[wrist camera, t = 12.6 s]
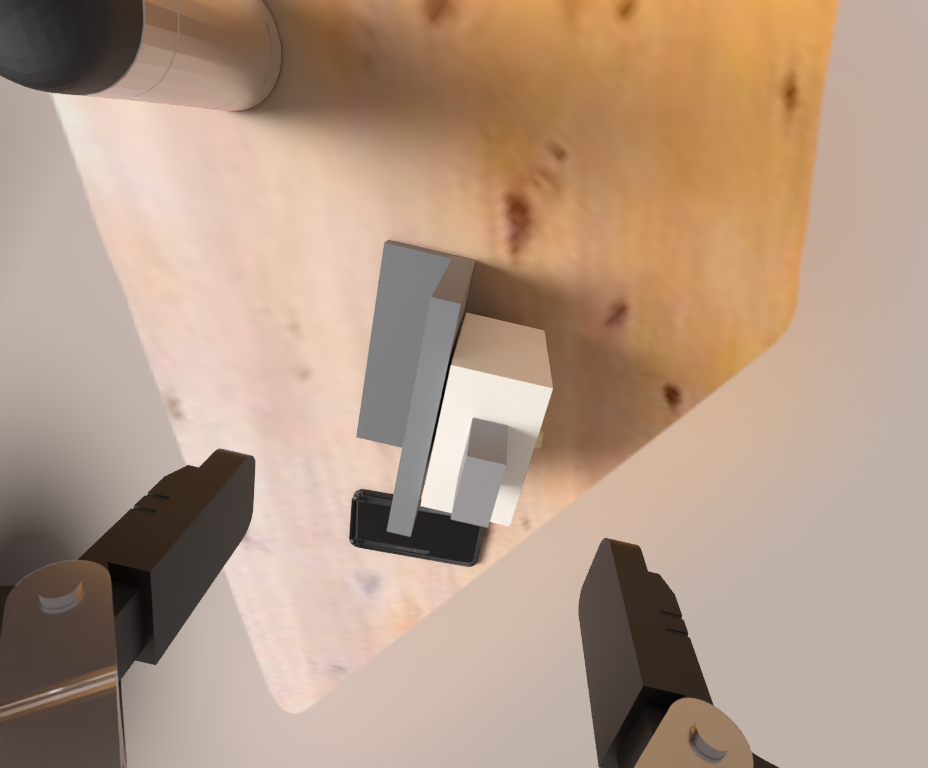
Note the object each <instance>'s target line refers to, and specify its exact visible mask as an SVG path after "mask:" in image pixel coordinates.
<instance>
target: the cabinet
mask: <svg viewBox="0 0 928 768" xmlns="http://www.w3.org/2000/svg"><path fill="white" fill-rule="evenodd" d="M552 390H553V384H552V378H551V371H550V364H549V358H548V351H547V344H546V337H545V331H544V330H540V329H536V328H532V327H527V326H523V325H519V324H514V323H510V322H506V321H501V320H497V319H493V318H488V317H484V316H480V315H475V314H471V313H467V312H466V315H465V319H464V322H463V326H462V329H461V332H460V336H459V339H458V343H457V346H456V350H455V353H454V357H453V360H452V364H451V368H450V372H449V377H448V381H447V386H446V390H445V395H444V400H443V404H442V409H441V413H440V418H439V423H438V427H437V432H436V436H435V441H434V445H433V450H432V455H431V459H430V464H429V468H428V473H427V477H426V482H425V487H424V491H423V496H422V500H421V505H420V506H422V507H427V508H431V509H436V510H440V511H444V512H449V513H452V514H451V520H456V521H460V522H465V523H469V524H473V525H478V526H482V527H486V528H488V526H489V523H490V522H492V523H497V524H501V525H506V526H510V523H511V520H512V517H513V514H514V511H515V508H516V504H517V501H518V498H519V495H520V492H521V489H522V485H523V482H524V479H525V476H526V473H527V470H528V466H529V463H530V460H531V457H532V454H533V451H534V448H537V449H540V448H541V446H542V442H543V437H544V432H543V431H540V428H541V425H542V422H543V419H544V416H545V413H546V409H547V406H548V403H549V400H550V397H551V394H552Z"/></svg>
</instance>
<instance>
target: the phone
mask: <svg viewBox="0 0 928 768" xmlns="http://www.w3.org/2000/svg"><path fill="white" fill-rule="evenodd" d="M393 495H394V494H388V493H382V492H377V491H371V490H365V489H360V490H358V491H356V492H355V494H354V496H353V498H352V505H351V521H350V536H349V539H350V542H351V544H352V545H354V546H355V547H358V548H364V549H370V550H375V551H381V552H387V553H392V554H398V555H404V556H409V557H415V558H421V559H426V560H432V561H438V562H443V563H449V564H455V565H460V566H466V567H471V566H474V565H475V564H476V563H477V562H478V558H479V553H480V548H481V543H482V538H483V533H484V529H485V527H482V526H478V525H473V524H469V523H465V522H460V521H456V520H451V514H452V513H449V512H444V511H440V510H436V509H431V508H427V507H422V506H420V505H421V500H422V499H421V500H420V504H419V507H418V511H417V515H416V519H415V522H414V526H413V530H412V534H411V537H409V536H405V535H401V534H396V533H392V532H387V527H388V521H389V516H390V511H391V506H392V500H393Z"/></svg>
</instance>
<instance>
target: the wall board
mask: <svg viewBox="0 0 928 768" xmlns="http://www.w3.org/2000/svg"><path fill="white" fill-rule="evenodd" d="M475 261H476V260H472V259H468V258H463V257H459V256H455V255H450V254H446V253H442V252H437V251H433V250H429V249H425V248H420V247H416V246H412V245H407V244H403V243H399V242H394V241H390V240H388V241H386V242H385V243H384V249H383V256H382V263H381V270H380V277H379V284H378V291H377V298H376V305H375V312H374V319H373V325H372V332H371V339H370V346H369V353H368V360H367V367H366V374H365V381H364V388H363V395H362V402H361V409H360V416H359V423H358V430H357V437H358V438H363V439H367V440H371V441H376V442H380V443H384V444H389V445H393V446H397V447H402V453H401V458H400V463H399V469H398V474H397V479H396V485H395V490H394V495H393V500H392V506H391V511H390V516H389V521H388V527H387V532H392V533H396V534H401V535H405V536H409V537H411V534H412V530H413V526H414V522H415V519H416V515H417V511H418V507H419V504H420V500H421V496H422V492H423V489H424V485H425V481H426V477H427V473H428V468H429V464H430V459H431V455H432V450H433V445H434V441H435V436H436V432H437V427H438V423H439V418H440V413H441V409H442V404H443V400H444V395H445V390H446V386H447V381H448V377H449V372H450V368H451V364H452V360H453V357H454V353H455V350H456V346H457V343H458V338H459V334H460V329H461V325H462V320H463V316H464V311H465V307H466V302H467V298H468V293H469V288H470V284H471V279H472V275H473V270H474V266H475Z"/></svg>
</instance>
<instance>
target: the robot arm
mask: <svg viewBox="0 0 928 768" xmlns="http://www.w3.org/2000/svg"><path fill="white" fill-rule="evenodd" d="M280 66H281V43H280V38H279V33H278V29H277V27H276V24H275V22H274V19H273V17H272V15H271V13H270V12H269V10H268V8H267V7H266V5H265V3H264V2H263V1H262V0H0V76H2V77H4V78H7V79H8V80H11V81H13V82H15V83H17V84H20V85H22V86H25V87H28V88H31V89H35V90H40V91H45V92H51V93H60V94H70V95H84V96H93V97H103V98H112V99H125V100H134V101H143V102H152V103H161V104H170V105H180V106H189V107H198V108H205V109H215V110H225V111H242V110H246V109H250V108H252V107H254V106H256V105H258V104H259V103H261V102H262V101H263V100H264V99H265V98H266V97H267V96H268V95H269V94H270V92H271V90H272V89H273V87H274V86H275V84H276V81H277V78H278V75H279V72H280ZM254 481H255V459H254V457H253V456H251V455H246V454H242V453H238V452H233V451H229V450H225V449H217V450H216V451H215V452H214V453H213V454H212V455H211V456H210V457H209V458H208V459H207V460H206V461H205V462H204V463H203V464H202V465H201V466H200V467H199V468H198V467H194V466H190V465H187V466H185V467H183V468H182V469H179V470H177V471H175V472H173V473H171V474H169V475H167V476H165V477H164V478H163V479H162V480H160V481H159V482H158V483H157V484H156V485H155V486H154V487H153V488H152V489H151V490H150V491H149V492H148V495H147V496H144V497H143V498H142V499H141V500H140V501H139V502H137V503H136V504H135V506H134V508H133V509H130V510H129V511H128V512H127V513H126V514H125V515H124V516H123V517H122V518H121V519H120V520H119V521H118V522H117V523H115V524H114V526H113V527H111V528H110V529H109V530H108V531H107V532H106V533H105V534H104V535H103V536H102V537H101V538H100V539H99V540H98V541H97V542H96V543H95V544H94V545H92V547H90V548H89V549H88V550H87V551H86V552H85V553H84V554H83V555H82V556H81V557H80V558H79V559H78V560H70V561H63V562H59V563H55V564H51V565H48V566H46V567H43V568H41V569H39V570H37V571H35V572H33V573H31V574H30V575H28V576H26V577H25V578H24V579H22V580H21V581H20V582H19V583H18V584H17V585H15V586H0V768H127V755H126V754H127V753H126V738H125V724H124V708H123V693H122V680H121V679H122V677H123V676H124V675H125V673H126V672H127V670H128V669H129V668H130V666H131V665H132V664H133V662H134V661H135V660H136V661H141V662H145V663H149V664H153V665H156V664H157V663H158V661H159V660H160V658H161V657H162V655H163V654H164V653H165V651H166V650H167V648H168V647H169V645H170V644H171V642H172V641H173V639H174V638H175V637H176V635H177V634H178V632H179V631H180V629H181V628H182V626H183V625H184V623H185V622H186V620H187V619H188V618H189V616H190V615H191V613H192V612H193V610H194V609H195V607H196V606H197V604H198V603H199V602H200V600H201V598H202V597H203V596H204V594H205V593H206V591H207V590H208V589H209V587H210V586H211V584H212V583H213V581H214V580H215V578H216V577H217V575H218V574H219V573H220V571H221V570H222V568H223V567H224V565H225V564H226V562H227V561H228V559H229V558H230V557H231V555H232V554H233V552H234V551H235V549H236V548H237V546H238V545H239V543H240V542H241V541H242V539H243V537H244V536H245V534H246V532H247V530H248V527H249V525H250V522H251V518H252V513H253V501H254ZM579 621H580V628H581V636H582V644H583V651H584V659H585V666H586V674H587V682H588V688H589V697H590V704H591V712H592V719H593V727H594V734H595V742H596V750H597V757H598V764H599V767H600V768H778V767H777V766H775V765H773V764H771V763H769V762H767V761H765V760H764V759H762V758H760V757H758V756H757V755H755V754H754V753H752V752H751V749H750V746H749V744H748V742H747V740H746V738H745V737H744V735H743V733H742V732H741V730H740V729H739V728H738V727H737V725H736V724H735V723H734V722H733V721H732V720H731V719H730V718H729V717H728V716H727V715H725V714H724V713H723V712H722V711H721V710H719V709H718V708H716V707H714V705H713V703H712V700H711V697H710V694H709V692H708V688H707V685H706V683H705V680H704V677H703V674H702V671H701V668H700V665H699V663H698V660H697V657H696V654H695V651H694V648H693V645H692V643H691V640H690V638H689V637H688V631H687V628H686V625H685V622H684V620H682V614H681V611H680V608H679V605H678V602H677V600H676V597H675V594H674V593H673V592H672V590H671V589H670V588H669V586H668V585H667V584H666V582H665V581H664V580H663V579H662V577H661V576H660V575H659V574H657V573H652V572H648V570H647V567H646V564H645V560H644V557H643V554H642V551H641V548H640V547H639V546H638V545H635V544H630V543H626V542H621V541H617V540H613V539H608V538H604V539H603V540H602V542H601V543H600V545H599V548H598V550H597V553H596V555H595V558H594V560H593V562H592V565H591V567H590V569H589V572H588V574H587V577H586V579H585V581H584V584H583V586H582V589H581V593H580V599H579Z"/></svg>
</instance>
